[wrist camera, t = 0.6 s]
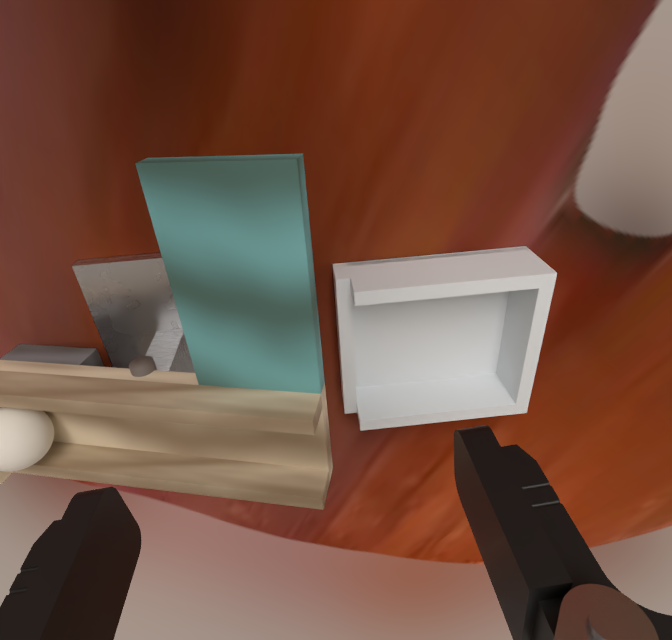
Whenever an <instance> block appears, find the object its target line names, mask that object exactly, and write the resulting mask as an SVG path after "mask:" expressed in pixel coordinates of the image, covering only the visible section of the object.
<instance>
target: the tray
mask: <svg viewBox="0 0 672 640" xmlns="http://www.w3.org/2000/svg"><path fill="white" fill-rule="evenodd" d="M556 276H557V272H555V271H554V270H553V269H552V268H551V267H550V266H548V265H547V264H546V263H545V262H544V261H543V260H541V259H540V258H539V257H538V256H537V255H535V254H534V253H533V252H532V251H531V250H530V249H528V248H527V247H526V246H522V247H511V248H501V249H490V250H479V251H468V252H457V253H446V254H435V255H425V256H414V257H403V258H392V259H381V260H370V261H359V262H349V263H338V264H333V277H334V291H335V305H336V319H337V333H338V347H339V361H340V375H341V389H342V398H343V405H344V412H345V414H348V413H357V414H358V420H359V425H360V431H362V430H372V429H381V428H390V427H400V426H409V425H418V424H427V423H437V422H446V421H455V420H465V419H474V418H483V417H493V416H502V415H511V414H520V413H527V409H528V404H529V400H530V395H531V391H532V386H533V381H534V377H535V372H536V368H537V363H538V359H539V354H540V349H541V345H542V340H543V336H544V331H545V326H546V322H547V317H548V313H549V308H550V304H551V299H552V294H553V290H554V285H555V281H556Z"/></svg>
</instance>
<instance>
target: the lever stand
mask: <svg viewBox="0 0 672 640" xmlns="http://www.w3.org/2000/svg"><path fill="white" fill-rule="evenodd" d="M72 268H73V270H74V273H75V275H76V277H77V280H78V282H79V285H80V287H81V290H82V292H83V295H84V297H85V300H86V302H87V305H88V307H89V310H90V312H91V314H92V317H93V319H94V322H95V324H96V327H97V329H98V332H99V334H100V337H101V339H102V342H103V344H104V347H105V349H106V351H107V354H108V356H109V359H110V361H111V364H112V366H113V368H128V369H129V363H130V362H131V361H132V360H134V359H135V358H138V357H141V356H151V357H152V358H153V359H154V362H155V365H156V368H157V371H172V372H187V373H195V370H194V367H193V363H192V360H191V356H190V353H189V349H188V346H187V342H186V339H185V335H184V332H183V328H182V325H181V321H180V318H179V314H178V311H177V307H176V304H175V300H174V297H173V293H172V290H171V286H170V283H169V279H168V276H167V272H166V269H165V266H164V262H163V259H162V255H161V253H149V254H138V255H127V256H116V257H105V258H94V259H82V260H77V261H76V262H75V263H74V264H73V265H72Z"/></svg>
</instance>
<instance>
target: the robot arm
mask: <svg viewBox="0 0 672 640" xmlns="http://www.w3.org/2000/svg"><path fill="white" fill-rule="evenodd" d="M454 467H455V481H456V486H457V490H458V494H459V497H460V500H461V503H462V506H463V508H464V511H465V514H466V516H467V519H468V522H469V524H470V527H471V529H472V532H473V535H474V537H475V540H476V543H477V545H478V548H479V550H480V553H481V556H482V558H483V561H484V564H485V566H486V569H487V572H488V574H489V577H490V579H491V582H492V585H493V587H494V590H495V593H496V595H497V598H498V601H499V603H500V606H501V608H502V611H503V613H504V616H505V619H506V622H507V624H508V627H509V630H510V632H511V635H512V637H513V640H672V616H670V615H665V614H661V613H657V612H654V611H652V610H649V609H647V608H644V607H642V606H641V605H639V604H637V603H635V602H634V601H632V600H631V599H630V598H628V597H627V596H625V595H624V594H622V593H621V592H620V591H619V590H618V589H617V588H616V587H615V586H614V585H613V584H612V583H611V582H610V580H609V579H608V578H607V577H606V575H605V574H604V572H603V571H602V569H601V567H600V566H599V564H598V562H597V561H596V559H595V558H594V556H593V555H592V553H591V551H590V549H589V548H588V546H587V544H586V543H585V541H584V539H583V538H582V536H581V534H580V533H579V531H578V529H577V528H576V526H575V524H574V523H573V521H572V519H571V518H570V516H569V514H568V513H567V511H566V509H565V508H564V506H563V504H561V503H560V501H559V498H558V496H557V494H556V493H555V491H554V490H553V488H552V486H550V485H549V481H548V480H547V478H546V476H545V475H544V473H543V471H542V470H541V468H540V466H539V465H538V463H537V461H536V460H535V459H533V458H532V457H531V456H530V455H529V454H527V453H526V452H525V451H524V450H522V449H521V448H520V447H519V446H518V445H510V446H504V447H500V445H499V443H498V441H497V439H496V437H495V435H494V434H493V432H492V430H491V428H490V427H489V426H488V425H483V426H477V427H472V428H466V429H460V430H455V433H454ZM140 549H141V532H140V528H139V526H138V524H137V522H136V521H135V519H134V517H133V516H132V514H131V512H130V510H129V509H128V507H127V506H126V504H125V503H124V501H123V499H122V497H121V496H120V494H119V492H118V491H117V490H116V489H115V488H113V487H108V488H102V489H96V490H91V491H84V492H79V493H77V494H76V495H74V497H73V498H72V499H71V501H70V503H69V505H68V508H67V509H66V511H65V513H64V515H63V517H62V519H61V520H57V521H54V522H53V523H52V524H51V525H50V526H49V527H48V529H46V531H45V532H44V533H43V534H42V535H41V536H40V537H39V538H38V540H37V541H36V542H35V543H34V544H33V546H32V548H31V550H30V552H29V554H28V556H27V558H26V559H25V561H24V563H23V565H22V567H21V573H20V574H18V575H17V576H16V578H15V581H14V582H13V584H12V586H11V588H10V594H9V595H6V597H5V599H4V601H3V603H2V605H1V607H0V640H113V639H114V636H115V632H116V629H117V626H118V623H119V619H120V616H121V613H122V609H123V606H124V603H125V600H126V596H127V593H128V590H129V587H130V583H131V580H132V576H133V573H134V570H135V567H136V564H137V560H138V557H139V554H140Z"/></svg>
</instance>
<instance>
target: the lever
mask: <svg viewBox="0 0 672 640" xmlns="http://www.w3.org/2000/svg"><path fill="white" fill-rule="evenodd" d="M135 164H136V168H137V171H138V175H139V178H140V182H141V185H142V189H143V192H144V196H145V199H146V203H147V206H148V210H149V213H150V217H151V220H152V224H153V227H154V231H155V234H156V238H157V241H158V245H159V248H160V252H161V255H162V259H163V262H164V266H165V269H166V272H167V276H168V279H169V283H170V286H171V290H172V293H173V297H174V300H175V304H176V307H177V311H178V314H179V318H180V321H181V325H182V328H183V332H184V335H185V339H186V342H187V346H188V349H189V353H190V356H191V360H192V363H193V367H194V370H195V373H187V372H172V371H157V368H156V365H155V362H154V359H153V358H152V357H151V356H141V357H138V358H135V359H134V360H132V361H131V362H130V363H129V369H128V368H113V367H104V364H103V362H102V359H101V357H100V355H99V352H98V350H97V349H96V348H79V347H62V346H45V345H28V344H19V345H18V346H16V347H15V348H14V349H12V350H11V351H10V352H8V353H7V354H6V355H4V356H3V357H2V358H0V408H1V407H7V408H18V409H29V410H40V411H44V412H45V413H46V414H47V415H48V416H49V418H50V419H51V421H52V424H53V427H54V438H53V442H52V445H51V447H50V449H49V450H48V452H47V453H46V455H45V456H44V457H43V458H42V459H41V460H39V461H38V462H37V463H35V464H33V465H32V466H30V467H28V468H25V469H22V470H18V471H11V472H4V471H0V485H1V484H2V483H3V482H4V481H5V480H6V479H7V478H8V477H9V475H10V474H12V472H15V473H24V474H32V475H40V476H48V477H56V478H65V479H73V480H81V481H89V482H98V483H106V484H114V485H123V486H131V487H139V488H147V489H156V490H164V491H172V492H180V493H189V494H197V495H205V496H214V497H222V498H230V499H238V500H247V501H255V502H263V503H271V504H280V505H288V506H296V507H304V508H313V509H321V510H324V505H325V501H326V497H327V492H328V488H329V483H330V479H331V474H332V470H333V463H332V453H331V442H330V432H329V421H328V411H327V401H326V390H325V380H324V369H323V359H322V348H321V338H320V327H319V317H318V306H317V296H316V286H315V275H314V265H313V254H312V244H311V233H310V223H309V212H308V202H307V191H306V181H305V171H304V160H303V154H274V155H237V156H200V157H163V158H146V159H144V160H142V161H139V162H137V163H135Z"/></svg>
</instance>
